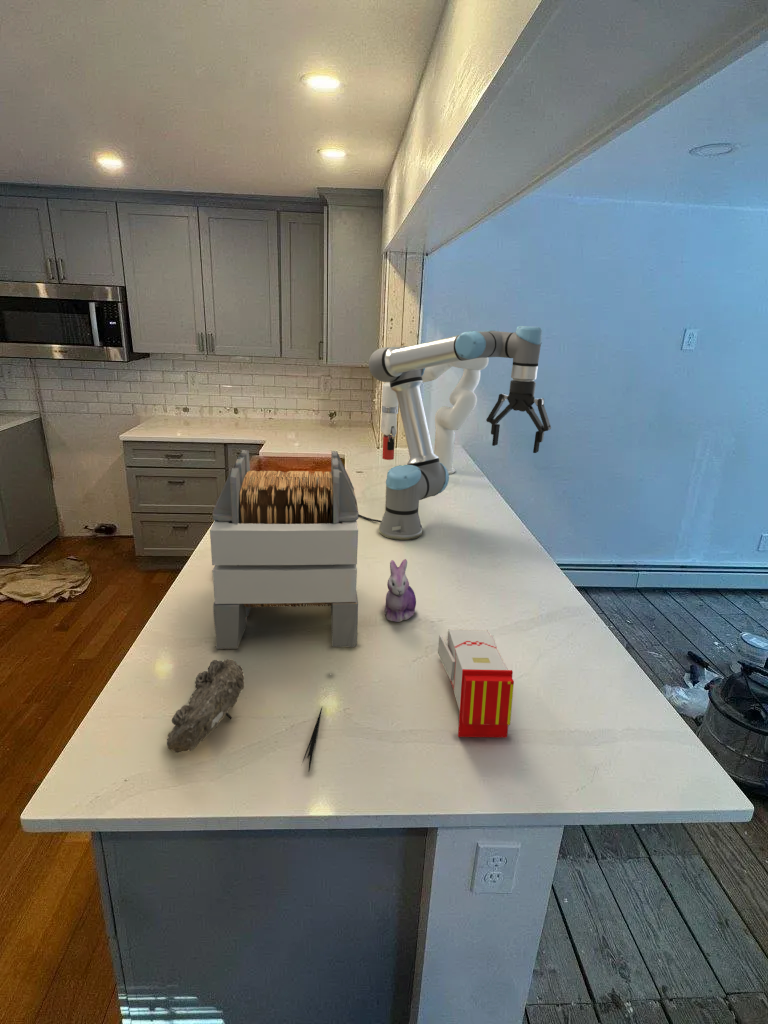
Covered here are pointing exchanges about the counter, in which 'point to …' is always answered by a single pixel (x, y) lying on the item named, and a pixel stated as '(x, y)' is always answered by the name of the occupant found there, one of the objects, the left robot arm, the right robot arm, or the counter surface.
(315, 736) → the feather
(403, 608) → the figurine
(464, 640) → the toy
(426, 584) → the counter surface
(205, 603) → the counter surface
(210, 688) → the fossil
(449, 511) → the counter surface
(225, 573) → the grey record storage rack
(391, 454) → the can
